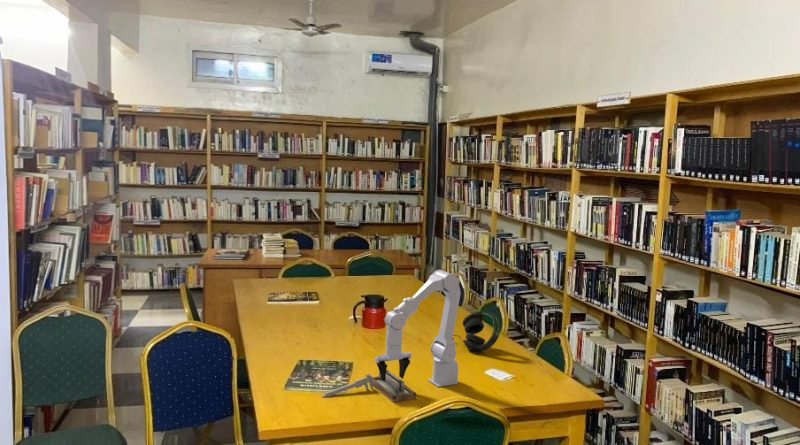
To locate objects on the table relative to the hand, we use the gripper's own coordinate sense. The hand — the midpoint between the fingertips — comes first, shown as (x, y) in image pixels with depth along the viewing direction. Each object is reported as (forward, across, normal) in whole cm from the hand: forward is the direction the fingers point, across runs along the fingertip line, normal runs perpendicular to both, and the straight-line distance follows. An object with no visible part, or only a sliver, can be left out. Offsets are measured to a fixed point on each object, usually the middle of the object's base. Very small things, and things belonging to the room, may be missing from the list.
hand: (392, 379), depth 224 cm
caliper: (+5, +16, -4) cm, 17 cm away
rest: (+4, 0, 0) cm, 4 cm away
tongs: (+3, 0, 0) cm, 3 cm away
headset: (+5, -57, -31) cm, 65 cm away
